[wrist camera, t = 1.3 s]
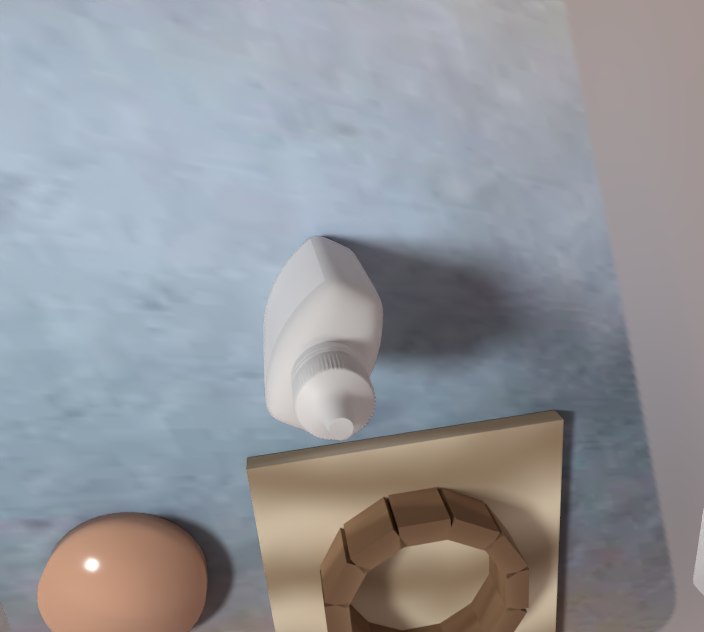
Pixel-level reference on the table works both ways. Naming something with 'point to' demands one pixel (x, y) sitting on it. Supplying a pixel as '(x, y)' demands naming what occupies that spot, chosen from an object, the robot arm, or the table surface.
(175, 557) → the peach domed part
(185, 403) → the table surface
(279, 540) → the ring collar
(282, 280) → the eye dropper bottle
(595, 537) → the table surface
